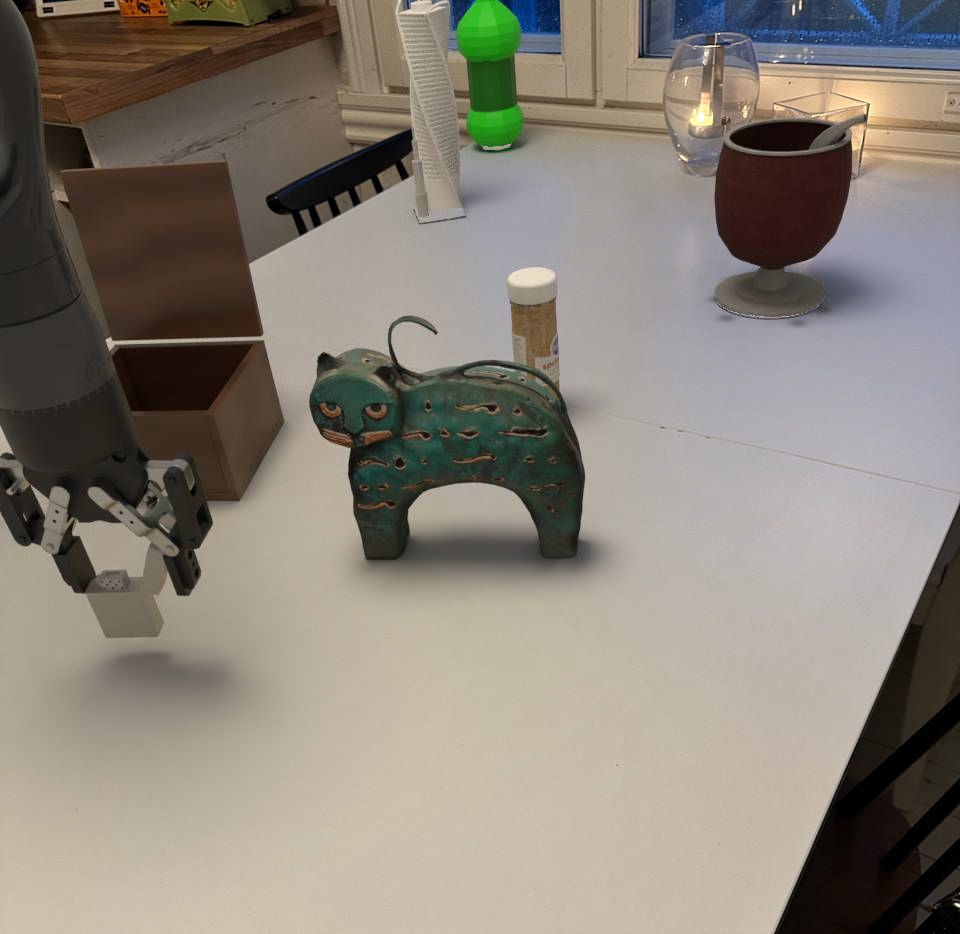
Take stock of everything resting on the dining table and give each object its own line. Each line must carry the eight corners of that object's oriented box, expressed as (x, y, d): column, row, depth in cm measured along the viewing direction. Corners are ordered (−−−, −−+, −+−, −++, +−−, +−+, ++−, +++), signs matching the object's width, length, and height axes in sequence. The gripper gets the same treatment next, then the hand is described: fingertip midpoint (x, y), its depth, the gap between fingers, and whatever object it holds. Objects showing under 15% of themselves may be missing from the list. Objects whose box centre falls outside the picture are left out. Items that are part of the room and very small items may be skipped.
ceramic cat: (342, 567, 79) (288, 335, 66) (360, 522, 84) (313, 297, 70) (584, 570, 76) (578, 327, 62) (588, 523, 80) (584, 287, 67)
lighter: (104, 638, 71) (64, 551, 66) (112, 622, 72) (73, 536, 67) (197, 635, 70) (164, 548, 65) (203, 620, 71) (172, 533, 66)
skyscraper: (411, 206, 146) (383, -12, 128) (463, 198, 147) (443, -20, 129) (419, 224, 140) (390, -4, 122) (473, 215, 141) (452, -12, 122)
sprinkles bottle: (561, 419, 94) (555, 283, 85) (514, 420, 94) (504, 286, 85) (562, 396, 97) (557, 263, 88) (517, 398, 98) (508, 266, 89)
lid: (223, 161, 83) (226, 159, 84) (58, 171, 86) (63, 169, 86) (261, 336, 92) (264, 333, 93) (111, 341, 95) (115, 338, 95)
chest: (239, 500, 88) (213, 414, 82) (83, 500, 91) (47, 417, 85) (284, 420, 99) (264, 339, 93) (143, 423, 101) (115, 344, 95)
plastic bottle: (459, 156, 164) (442, -19, 148) (479, 138, 172) (465, -30, 155) (515, 156, 161) (504, -23, 145) (533, 137, 169) (524, -34, 152)
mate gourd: (682, 301, 112) (692, 111, 98) (755, 264, 118) (774, 80, 105) (796, 337, 102) (824, 132, 89) (869, 294, 109) (905, 97, 95)
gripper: (184, 345, 59) (248, 558, 70) (-26, 348, 61) (68, 554, 72) (135, 405, 54) (213, 625, 65) (-93, 406, 56) (20, 619, 67)
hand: (136, 587), depth 69 cm, fingers closed on lighter, 7 cm apart
